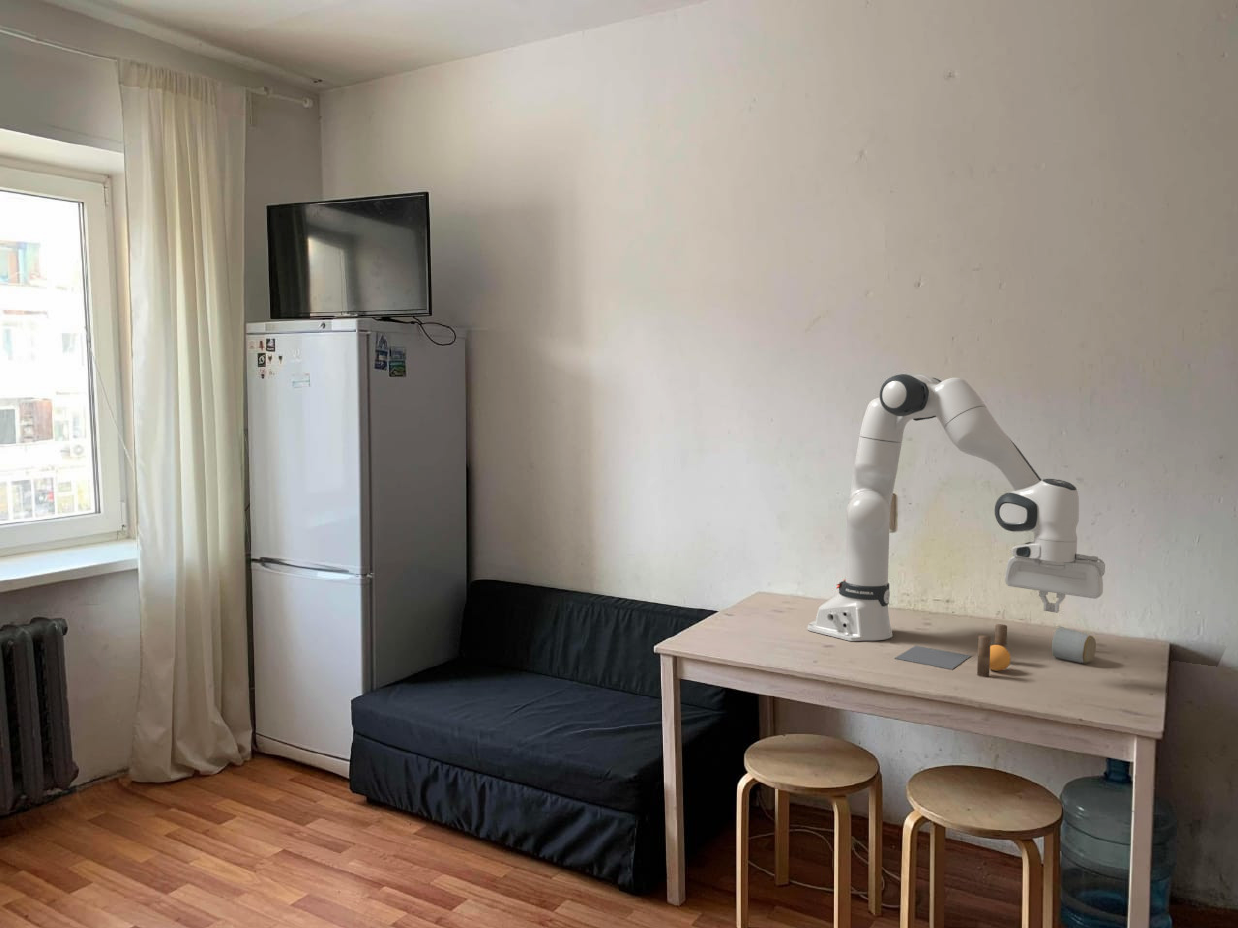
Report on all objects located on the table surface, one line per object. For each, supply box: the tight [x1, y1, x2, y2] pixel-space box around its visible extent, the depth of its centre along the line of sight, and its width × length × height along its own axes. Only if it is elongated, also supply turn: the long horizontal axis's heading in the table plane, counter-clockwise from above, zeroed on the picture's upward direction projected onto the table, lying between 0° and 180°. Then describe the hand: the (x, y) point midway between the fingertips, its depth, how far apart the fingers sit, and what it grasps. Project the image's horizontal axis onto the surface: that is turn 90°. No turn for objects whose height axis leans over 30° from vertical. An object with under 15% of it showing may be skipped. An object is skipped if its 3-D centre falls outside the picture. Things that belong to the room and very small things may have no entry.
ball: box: [989, 644, 1011, 672], centre depth 218 cm, size 6×6×6 cm
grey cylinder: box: [1051, 626, 1097, 664], centre depth 228 cm, size 11×8×8 cm
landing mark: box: [894, 645, 972, 670], centre depth 229 cm, size 14×14×1 cm
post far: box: [994, 623, 1008, 649], centre depth 225 cm, size 3×3×9 cm
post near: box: [976, 635, 991, 678], centre depth 215 cm, size 3×3×9 cm
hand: (1051, 611), depth 211 cm, fingers closed
